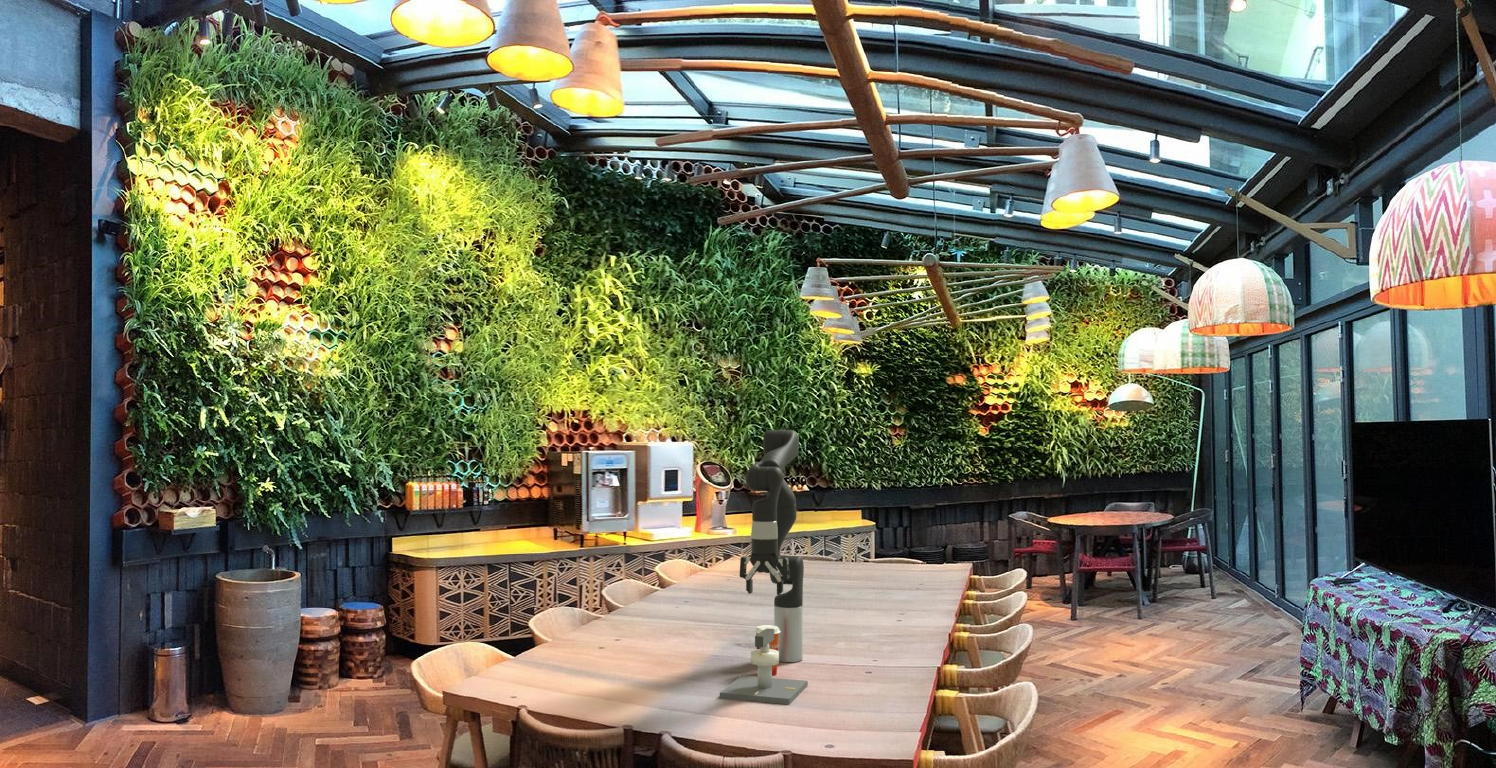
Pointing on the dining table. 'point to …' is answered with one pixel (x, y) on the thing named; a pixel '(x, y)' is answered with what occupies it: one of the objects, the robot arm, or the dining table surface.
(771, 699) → the post board
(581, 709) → the dining table surface
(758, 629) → the paper cup
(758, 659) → the coupling
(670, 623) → the dining table surface
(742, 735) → the dining table surface
